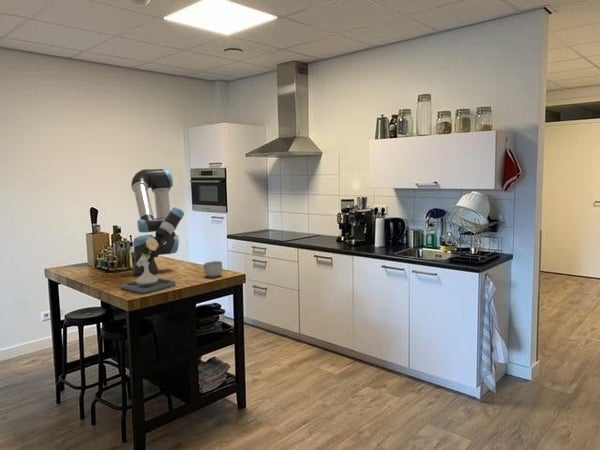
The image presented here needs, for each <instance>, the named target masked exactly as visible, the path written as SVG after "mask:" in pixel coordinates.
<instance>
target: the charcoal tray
mask: <svg viewBox="0 0 600 450" xmlns="http://www.w3.org/2000/svg"><path fill="white" fill-rule="evenodd" d="M157 278H158V281H157V282H155V283H153V284H148V285H141V284H137V283H136V280H134V281H130V282H126V283H122V284H120V290H122V291H123V290H124V291H127V290H128V292H131V291H133V292H132V293H136V292H137V293H136V294H140V293H141V295H146V294H147V295H148V294H150V293H154V292H158V291H161V290H166V289H169V288H172V287H176V281H175V280H170V279H165V278H159V277H157Z"/></svg>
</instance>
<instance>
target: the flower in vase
mask: <svg viewBox="0 0 600 450" xmlns="http://www.w3.org/2000/svg"><path fill="white" fill-rule="evenodd" d="M153 237H154V236H153ZM153 237H152V238H150V237H149V238H148V240H146V246H147V248H149V253H150V254H151V252H152V251H150V250H153V251H156V249H157V248H158V246H159V243H158V242H157V240H155V238H153ZM149 253H148V254H149ZM141 254H142V255H144V256H147V257H148V255H147V254H143V253H141ZM147 257H146V258H142V259H141V260H142V261H143V263H144V261H145V260H146V259H147ZM158 278H159V277H157V276H155V274H151V273H150V272H149V268H148V266H147V268H145V267H144V273H143V274H142V275H141V276H138V278H137V279H136V280H135V281H136V283H137V284H141V285H148V284H153V283H155V282H157V281H158Z"/></svg>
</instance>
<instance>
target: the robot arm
mask: <svg viewBox="0 0 600 450" xmlns="http://www.w3.org/2000/svg"><path fill="white" fill-rule="evenodd" d="M173 182H174V180H173V176H172V173H171V171H170V170H169V169H166V168H155V169H154V168H152V169H150V168H149V169H147V168H145V169H141V170H139V171H138V172H136V173H135V175H134V176H133V177H132V179H131V190H132V192H134V196H135V201H136V207H137V211H138V215H139V219H138V220H137V231H138V232H139V233H153V232H155V233H154V234H155V235H153V234H144V235H139V236H136V237H134V239H133V243H132V244H133V254H134V255H133V257H134V259H133V260H134V262H133V268H132V271H131V273H132V275H133V276H135V277H140V276H141V275H142V274H143V273H144V267H145V268H147V266H148V268H149V272H150V273H151V274H153V275H156V274H158V273H159V268H158V265H157V263H156V260H155V258H158V257H159V256H161V255H162V256H163V255H171V254H176V253H177V252H178V249H179V244H180V243H179V242H180V241H179V239H180V238H179V235H178V234H176V232H175V230H176V229H177V228H178V225H179V224H180V222H181V220H182V219H183V217H184V216H185V212H184V211H183V209H181V208H179V207H177V206H175V207H172V209H171V205H170V195H169V194H170V193H169V192H170V191H171V188H172V187H173V186H174V185H173V184H174V183H173ZM148 189H150V190H151V192H152V193H153V194H154V204H155V213H156V218H155V217H154V212H153V209H152V204H151V199H150V196H149V191H148ZM149 237H150V238H152V237H153V238H155V240H157V242H158V243H159V246H158V248H157V249H156V251H153V250H150V251H152V252H151V254H150V253H149V248H147V246H146V240H148V238H149ZM141 253H143V254H147V255H148V257H147V256H144V255H142V254H141ZM148 253H149V254H148ZM146 257H147V259H146V260H145V261H144V263H143V261H142V260H141V259H142V258H146Z"/></svg>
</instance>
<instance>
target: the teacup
mask: <svg viewBox="0 0 600 450" xmlns="http://www.w3.org/2000/svg"><path fill="white" fill-rule="evenodd" d="M203 269H204V274H205V275H206V276H207V277H209V278H215V277H216V278H217V277H219V276H221V274H222V273H223V262H222V261H221V260H220V261H219V260H214V261H209V262H204V263H203Z"/></svg>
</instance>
